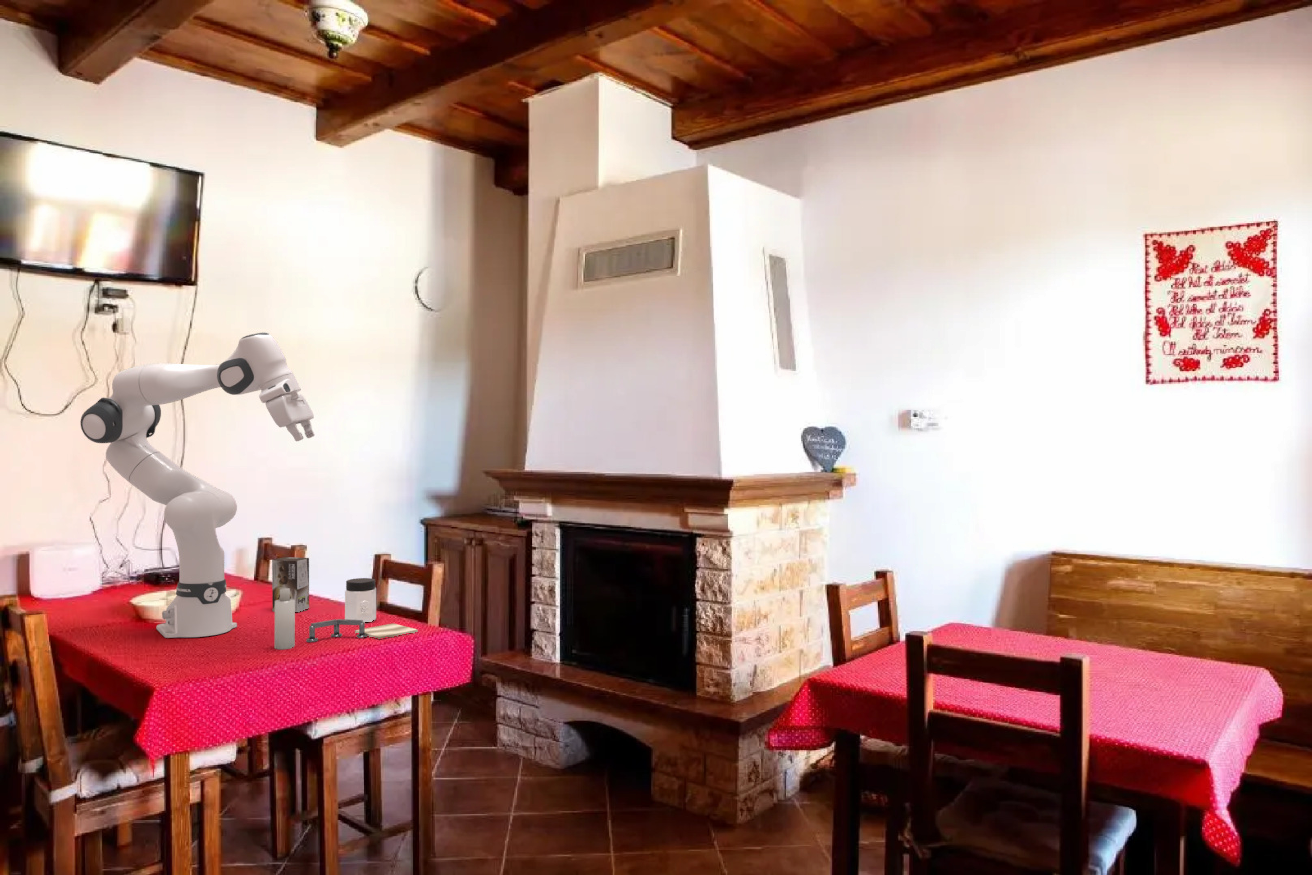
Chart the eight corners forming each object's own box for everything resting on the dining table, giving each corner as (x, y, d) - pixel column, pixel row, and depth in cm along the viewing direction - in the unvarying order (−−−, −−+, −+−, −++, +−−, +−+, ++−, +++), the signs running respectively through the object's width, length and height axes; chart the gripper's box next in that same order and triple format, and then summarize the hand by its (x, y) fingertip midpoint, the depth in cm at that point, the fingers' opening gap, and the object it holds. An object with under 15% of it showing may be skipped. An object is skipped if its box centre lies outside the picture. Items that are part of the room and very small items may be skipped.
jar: (348, 625, 254) (348, 583, 254) (341, 620, 261) (341, 579, 261) (380, 621, 259) (380, 580, 259) (372, 617, 266) (372, 577, 266)
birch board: (355, 633, 244) (355, 630, 244) (393, 626, 254) (393, 623, 254) (379, 639, 237) (379, 636, 237) (417, 632, 246) (417, 629, 246)
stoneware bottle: (271, 647, 228) (271, 588, 228) (289, 643, 232) (289, 586, 232) (280, 650, 225) (280, 591, 225) (298, 646, 229) (298, 588, 228)
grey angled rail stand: (304, 641, 235) (304, 623, 235) (351, 632, 245) (352, 615, 245) (321, 646, 229) (321, 628, 229) (369, 637, 240) (369, 620, 240)
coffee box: (310, 609, 277) (310, 557, 277) (297, 613, 271) (297, 560, 271) (284, 607, 279) (284, 556, 279) (271, 611, 273) (271, 559, 273)
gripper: (283, 394, 241) (306, 440, 243) (256, 397, 221) (281, 447, 222) (305, 384, 241) (328, 430, 243) (279, 386, 221) (304, 436, 223)
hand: (305, 438), depth 233 cm, fingers open, 8 cm apart
